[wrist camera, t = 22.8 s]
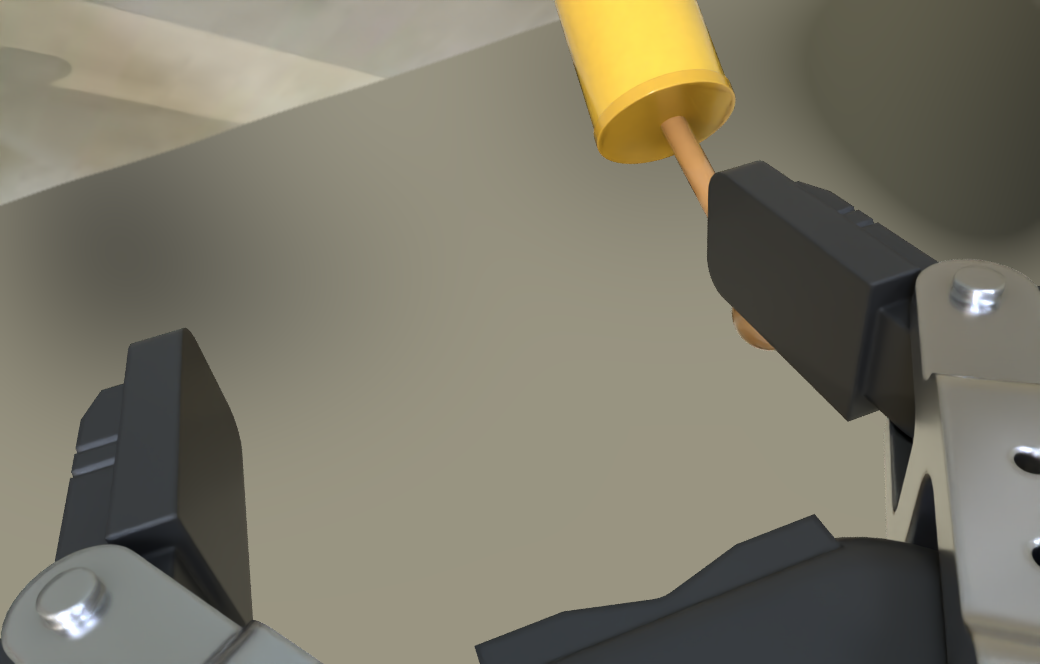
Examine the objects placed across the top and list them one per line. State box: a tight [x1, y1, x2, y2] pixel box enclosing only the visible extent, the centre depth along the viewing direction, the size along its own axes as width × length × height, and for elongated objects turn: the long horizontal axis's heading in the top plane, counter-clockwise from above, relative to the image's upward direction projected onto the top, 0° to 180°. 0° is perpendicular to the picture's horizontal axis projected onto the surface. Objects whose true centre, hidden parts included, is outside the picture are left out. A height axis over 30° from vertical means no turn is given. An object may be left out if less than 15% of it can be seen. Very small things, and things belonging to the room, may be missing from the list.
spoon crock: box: [554, 0, 776, 351], centre depth 33 cm, size 6×6×22 cm
